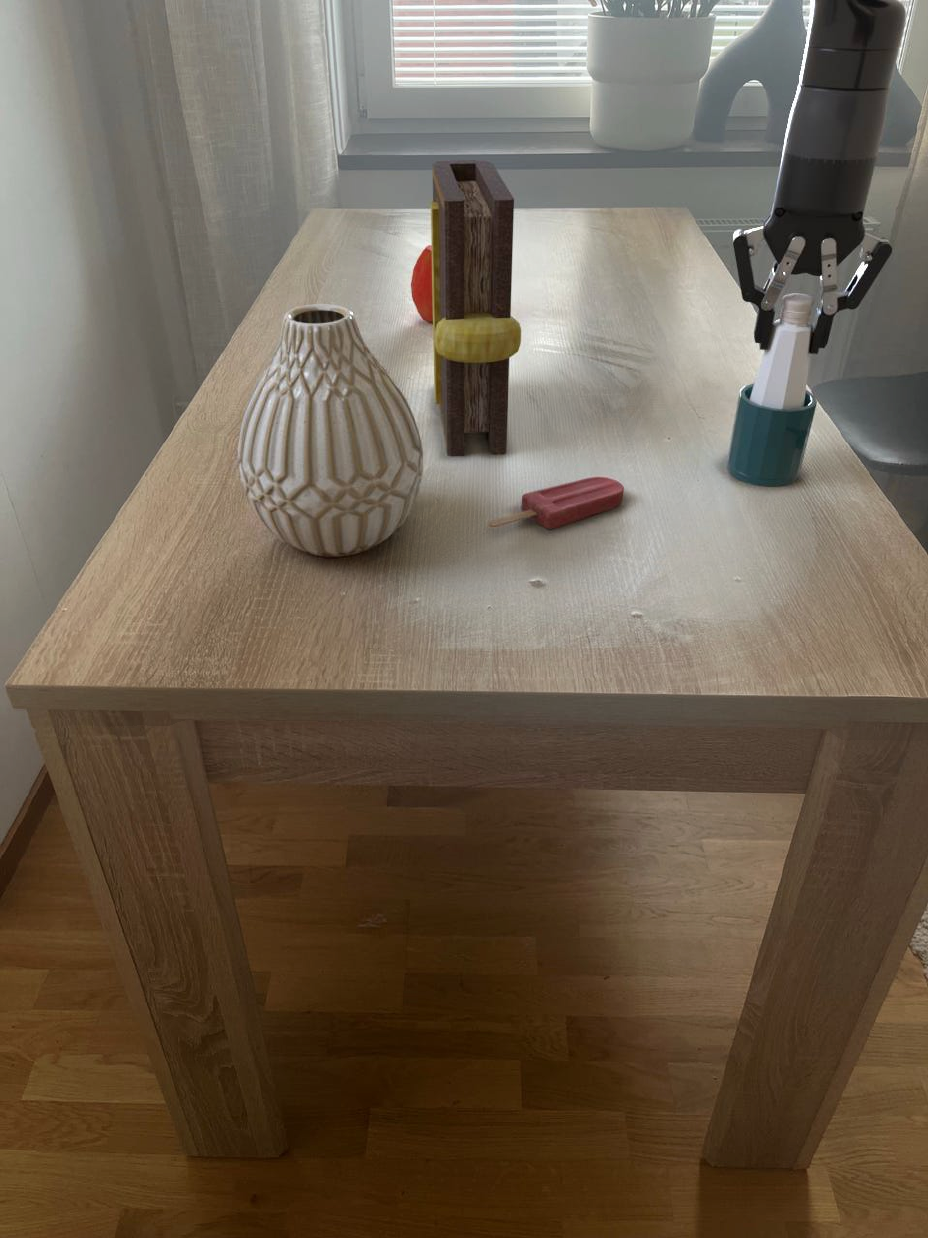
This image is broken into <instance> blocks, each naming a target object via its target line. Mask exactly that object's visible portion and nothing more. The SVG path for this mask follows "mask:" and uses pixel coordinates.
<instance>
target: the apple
mask: <svg viewBox="0 0 928 1238" xmlns="http://www.w3.org/2000/svg"><path fill="white" fill-rule="evenodd" d="M410 291H411V298H412V302H413V304H414V306H415V309H416V311H417V313H418V315H419V316H420V317H421V319H422V320H423V321H426V322H428V323H431V324H433V295H432V244H428V245H426V247H424V249H423V250H422V251H421V253H420V255H419V256H418V258H417V260H416V262H415V265H414V266H413V269H412V275H411V281H410Z"/></svg>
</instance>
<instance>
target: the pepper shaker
mask: <svg viewBox="0 0 928 1238" xmlns="http://www.w3.org/2000/svg"><path fill="white" fill-rule="evenodd" d="M781 303H782V305H781V309H780V315H779V318H778V319H775V321H773V325H772V330H771V335H770V340H769V345H768V350H763V354H762V358H761V361H760V364H759V367H758V370H757V373H756V377H755V381H754V382H753V383H754V387H753V390H752V393H751V397H750V401H752V402H754V403H756V404H759V405H761V406H765V407H770V408H774V409H798V408H802V407H804V402H805V394H806V390H807V385H808V375H809V368H810V359H811V354H809V351H810V345H811V339H812V334H813V324H811V323H809V321H810V316H811V313H812V308H813V306H814V303H815V298H813V297H812V296H810V295H808V294H805V293H797V292H796V293H794V292H793V293H787V294H785V295H783V296H782V298H781Z"/></svg>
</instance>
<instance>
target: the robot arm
mask: <svg viewBox="0 0 928 1238" xmlns="http://www.w3.org/2000/svg"><path fill="white" fill-rule="evenodd" d="M906 11H907V10H906V8H905V5H904V4H903V3H902V2H901V1H900V0H810V12H809V13H810V14H809V22H808V23H809V24H808V31H807V36H806V44H805V48H804V54H803V60H802V64H801V65H802V66H801V70H800V75H799V83H798V85H797V90H796V94H795V98H794V100H793V103H792V107H791V109H790V113H789V117H788V123H787V128H786V130H785V132H784V138H783V143H784V144H783V149H782V156H781V159H780V160H781V161H780V167H779V171H778V176H777V183H776V187H775V193H774V198H773V203H772V209H771V212H770V214H769V215H768V217H767V218H766V219H765V221H764V223H763V225H762V226H760V227H756V228H751V229H747V230H744V229H743V228H738V229H737V230H735V231H734V232H733V234H732V246H733V252H734V257H735V258H734V259H735V264H736V269H737V275H738V276H737V277H738V281H739V287H740V293H741V298H742V300H743V301H744V302H746V303H751V304H753V305H755V306H756V307H757V313H756V319H755V325H754V330H753V338H754V343H755V344H758V347H759V350H760V351H764V350H768V345H769V340H770V335H771V330H772V325H773V324H774V320H775V316H776V309H775V305H776V303H777V301H778V299H779V297H780V295H781V292H782V291H783V289H784V288H785V286H786V284H787V283H788V281H789V278H790V276H791V275H794V276H796V275H797V276H798V275H802V274H807V275H811V276H814V277H819V286H820V303H819V307H816V311H815V314H814V319H813V324H812V325H813V334H812V339H811V345H810V351H809V354H810V355H818V354H819V350H820V349H825V348H826V346H827V345H828V344H829V341H830V339H829V338H830V335H831V331H832V327H833V322H834V318H835V316H836V315H837V313H838V312H840V311H841V312H842V311H845V310H850V311H851V310H852V311H853V310H856V309H857V308H858V307H859V306H860V304H861V302H862V301H863V300H864V299H865V297H866V295H867V293H868V292H869V290H870V289H871V287H872V285H873V284H874V282H875V280H876V279H877V278H878V276H879V275H880V272H881V271H882V270H883V268H884V267H885V265H886V263H887V261H888V259H890V256H891V255H892V253H893V247H892V244H891V243H890V241H889V240H888V238H886V237H885V236H881V237H877V236H874V235H873V234H870V233H868V232H866V228H865V225H864V214H865V213H864V212H865V209H866V205H867V200H868V195H869V193H870V188H871V184H872V180H873V176H874V175H873V174H874V171H875V168H876V167H875V166H876V163H877V159H878V155H879V150H880V146H881V142H882V138H883V133H884V129H885V125H886V121H887V113H888V103H889V95H890V90H891V88H890V87H891V86H892V81H893V77H894V74H895V69H896V65H897V62H898V61H897V60H898V57H899V52H900V47H901V43H902V39H903V35H904V30H905V26H906V19H907V12H906ZM764 240H765V242H766V245H767V246H768V248H769V250H770V252H771V254H772V257H773V258H774V260H775V261H774V262H773V264H772V267H771V269H770V273H769V274H768V278H767V280H766V282H765V284H764V286H763V287H761V286H760V285H759V286H758V285H756V284H755V277H754V271H753V264H752V259H751V257H754V256H755V255H757V254H758V253H759V252H758V251H759V246H760V244H761V242H762V241H764ZM859 246H860V247H861V250H860V252H859V258H860V259H861V261H862V262H861V264H860V265H859V266H858V268H857V270H856V272H855V274H854V275H853V276H852V278H851V280H850V282H849V283H848V285H847V287H846V288H845V290H842V291H840V292H838V270H837V268H838V266H839V265H841V264H842V263H843V262H844V260H845V259H846V258H847V257H849V255H851V254H852V253H853V252H854V251H855V249H856V248H858V247H859Z"/></svg>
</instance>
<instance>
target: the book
mask: <svg viewBox="0 0 928 1238" xmlns="http://www.w3.org/2000/svg"><path fill="white" fill-rule="evenodd" d="M514 213H515V197H513V195H512V193H511V192H510V189H509V188H508V187H507V185H506V184H505V182H504V180H503V178H502V176H501V175H500V173H499V172H498V170H497V168H496V167H495V164H494V163H493V162H490V161H487V160H479V159H478V160H475V159H474V160H473V159H469V160H465V159H464V160H459V159H458V160H441V161H435V162H434V163H432V201H430V232H431V233H430V234H431V237H430V238H431V239H430V241H431V243H430V245H432V295H433V323H432V339H433V342H432V343H433V344H432V345H433V346H432V347H433V388H434V389H433V390H434V391H433V392H434V399H435V405H438V408H439V414H440V420H441V427H442V432H443V438H444V443H445V449H446V456H448V457H462V456H464V455H465V434H474V433H477V434H478V433H484V435H485V439H486V443H487V447H488V453H489V454H490V455H505V454H506V453H507V451H508V450H507V449H508V447H507V446H508V420H509V419H508V417H509V415H508V411H509V386H510V385H509V381H510V380H509V379H510V376H509V375H510V358H511V357H513V356H515V355H516V354H517V353H518V352H519V351H520V347H521V344H522V326H521V323H520V322H519V320H517V319H516V318H515V317H514V316H512V315H511V314H512V313H511V312H512V283H513V282H512V281H513V280H512V279H513V253H514V252H513V247H514V219H515V218H514V216H515V215H514Z"/></svg>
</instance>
